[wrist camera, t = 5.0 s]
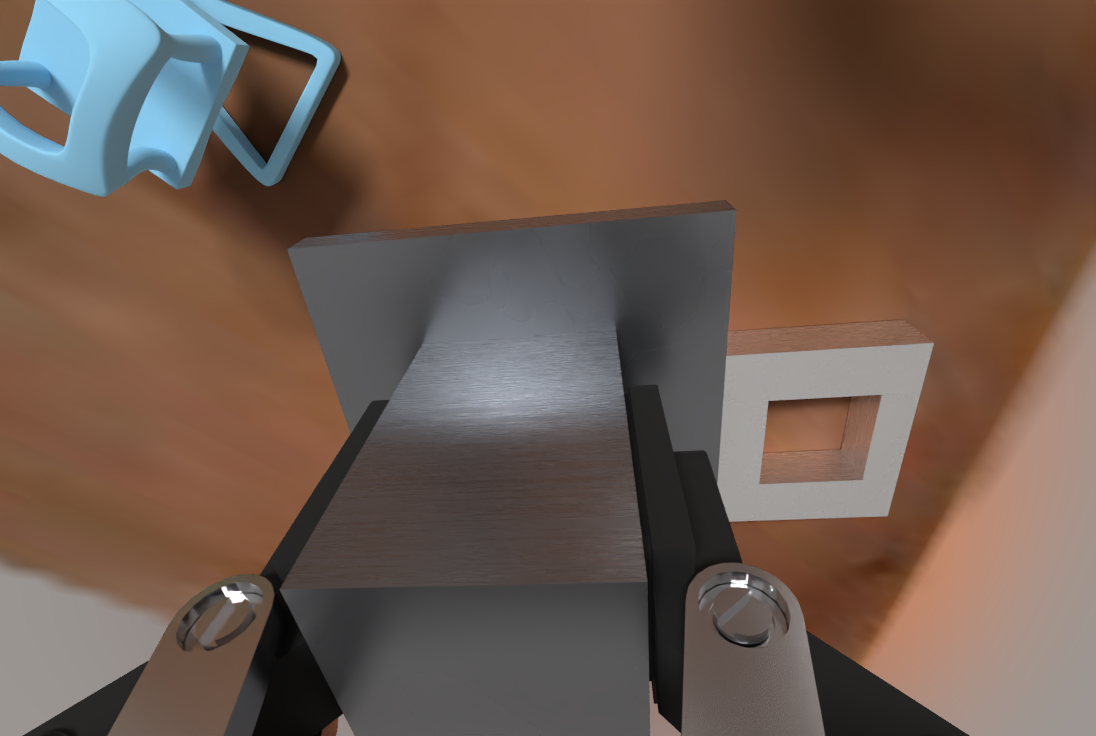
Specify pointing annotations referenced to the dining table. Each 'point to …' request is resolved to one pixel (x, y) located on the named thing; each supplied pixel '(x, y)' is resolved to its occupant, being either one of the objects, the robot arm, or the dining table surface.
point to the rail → (819, 372)
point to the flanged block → (504, 462)
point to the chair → (147, 89)
